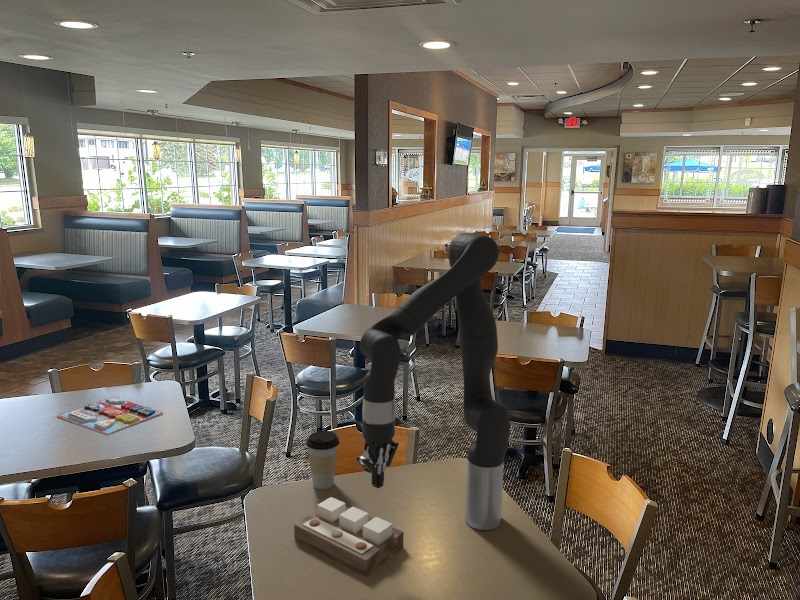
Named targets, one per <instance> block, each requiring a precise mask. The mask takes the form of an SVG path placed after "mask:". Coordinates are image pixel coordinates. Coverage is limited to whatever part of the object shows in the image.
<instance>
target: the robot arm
mask: <svg viewBox="0 0 800 600" xmlns="http://www.w3.org/2000/svg"><path fill="white" fill-rule="evenodd" d="M449 244H450V245H449V247H448V261H449V265H450V266H449V267H450V268H449V269H448V270H446V271H445V272H444V273H442V274H441V275H439V276H438V277H437V278H435V279H433V280H431V281H429V282H428V283H426V284H424V285H423V286H421V287H419V288H418V289H416V290H415V291H414V292H413V293H411V294H410V295H409V296H408V297H407V298H406V299H404V301H403V302H402V303H400V305H398V307H396V309H395V310H394V311H393V312H391V313H390V314H388V315H386V316H385V317H382V319H380V320H378V321H377V322H375V323H373V325H372V326H370V327H369V328H367V330H366V331H365V332H364V333H363V335H362V336H361V338H360V339H359V340H360V341H359V350H360V352H361V353H362V355H363V356H364V357H366V358H367V359H369V360H370V361H371V364H370V365H371V366H370V371H368V372H367V373H366V374H365V375H364V378H363V402H362V409H361V413H362V414H361V416H362V420H361V422H362V423H361V426H362V428H361V435H362V437H363V439H364V440H365V442H364V446H363V453H362V455H358V456H357V457H356V461H357V462H358V463H359V465H360V466H361V467H362V469H363V470H364V472H365V473H369V474H371V485H372V487H373V488H376V489H377V490H378V489H381V488H382V487H383V486H384V482H385V471H386V469H387V467H390V466H391V465H392V461H393V459H394V457H395V454H396V452H397V449H398V447H399V442H397V441H395V440H393V438H394V437H395V435H396V402H395V394H396V393H395V386H396V385H395V381H396V377H397V374H398V369H399V366H400V361H401V355H402V354H401V353H402V352H401V346H400V343H399V340H400V339H401V338H403V337H412V336H414V335H415V334H416V333H417V332H419V330H420V329H422V327H423V326H425V325H426V324H427V322H428V321H429V320H431V319H432V318H433V316H434V315H436V314H437V312H439V310H441V309H442V308H443V307H444V306H445V305H447V304H448V303H449V302H450V301H451V300H452V299H454V298H455V301H456V312H457V320H458V321H457V323H458V337H459V346H460V347H459V348H460V354H461V364H462V365H461V366H462V375H463V418H464V421H465V424H467V426H468V427H469V428H471V430H473V431H474V432H475V433H476V440H475V441H476V442H475V443H472V445H470V446H468V449H467V460H466V461H467V464H466V484H465V485H466V491H465V511H464V512H465V514H464V515H465V516H464V521H465V523H466V524H467V525H468V526H469V527H470V528H473V529H475V530H479V531H490V530H491V531H492V530H495V529H498V527H499V526H500V525H501V520H502V519H501V518H502V513H503V512H502V509H503V492H504V490H503V489H504V484H503V482H504V481H503V480H504V464H505V463H504V462H505V461H504V460H505V456H506V453H507V451H508V448H509V438H510V431H511V428H510V427H511V417H510V413H509V410H508V409H507V408H506V406H504V405H502V404H501V403H500V402H498V401H496V400H494V398H493V395H492V389H491V370H492V368H493V367H494V363H495V361H496V358H497V355H498V349H499V343H498V329H497V322H496V319H495V316H494V314H493V311H492V309H491V307H490V305H489V303H488V301H487V298H486V296H485V294H484V289H483V286H482V281H481V279H482V278H483V276H484V275H486V274H487V273H489V272H490V271H491V270H492V269H493V268H494V267H495V266H496V265H497V262H498V260H499V257H500V256H499V255H500V250H499V245H498V244H497V242H496V241H495V239H493V238H492V237H490V236H487V235H484V234H479V233H478V234H477V233H473V232H472V233H471V232H461V233H459V234H456V235H455V236H454V237H453V238H452V240H451V242H450V243H449Z"/></svg>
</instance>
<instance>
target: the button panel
mask: <svg viewBox="0 0 800 600" xmlns="http://www.w3.org/2000/svg"><path fill="white" fill-rule="evenodd" d="M350 508H351V507H348V506H346V511H347V510H348V509H350ZM373 518H374V517H371V516H370V515H368V522H369V521H371V520H372V519H373ZM293 527H294V528H293V530H294V537H293V539H294V540H296V541H298V542H300V543H301V544H303V545H305V546H307V547H309V548H311V549H313V550H314V551H316V552H318V553H321V554H322V555H324V556H326V557H328V558H330V559H332V560H334V561H335V562H338V563H339V564H341V565H342V566H345V567H347V568H349V569H351V570H353V571H354V572H356V573H359V574H360V575H362V576H364V577H367V576H368V575H370V574H371V573H373V572H374V571H375V570H376V569H377V568H379V567H380V566H381V565H383V563H385V562H386V561H387V560H389V559H390V558H391V557H392V556H394V555H395V554H397V553H398V552H399V551H400V550H401V549H403V548H404V535H405V534H404V532H405V531H403V530H400V529H398V528H395V527H393V526H392V537H390V538H389V539H388V540H386V541H385V542H384V543H382V544H381V545H380V546H379V545H377V544H375V543H373V542H370V541H368V540H366V539H364V538H363V529H362V530H360V531H359V532H357V533H356V534H354V533H352V532H349V531H347V530H345V529H343V528H341V527H339V519H338V520H336V521H335V522H333V523H331V522H328V521H326V520H324V519H322V518H320V517H318V516H317V510H316V511H314V512H312V513H311V514H309V515H308V516H306V517H304V518H302V519H301V520H299V521H297V522H295V523H294V524H293Z"/></svg>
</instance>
